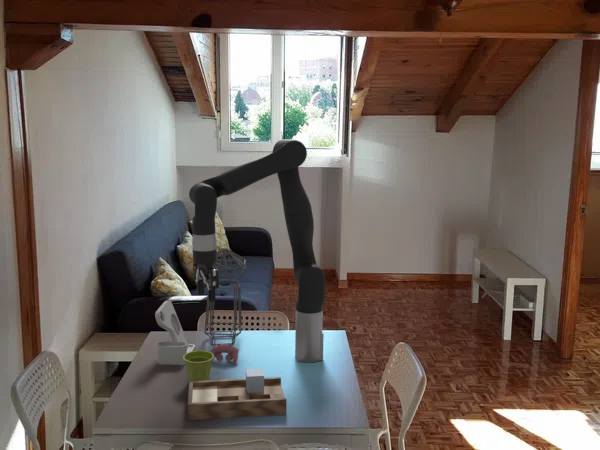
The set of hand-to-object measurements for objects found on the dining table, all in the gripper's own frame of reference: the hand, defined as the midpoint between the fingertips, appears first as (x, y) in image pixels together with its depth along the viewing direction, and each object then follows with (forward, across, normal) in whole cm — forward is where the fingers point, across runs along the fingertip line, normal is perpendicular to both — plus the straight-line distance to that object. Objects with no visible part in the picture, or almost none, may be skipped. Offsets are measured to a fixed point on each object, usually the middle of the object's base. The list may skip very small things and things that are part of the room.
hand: (206, 297), depth 193 cm
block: (+22, -24, -4) cm, 33 cm away
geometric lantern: (+26, +24, -17) cm, 39 cm away
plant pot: (+25, -5, +6) cm, 26 cm away
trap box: (+25, -25, +2) cm, 36 cm away
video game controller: (+26, +6, -8) cm, 27 cm away
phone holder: (+25, +20, +3) cm, 32 cm away
